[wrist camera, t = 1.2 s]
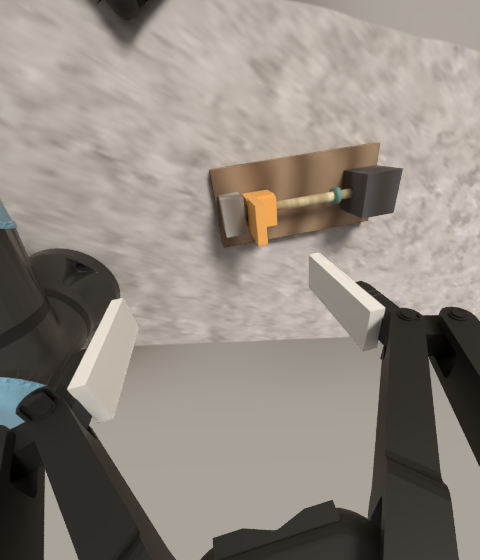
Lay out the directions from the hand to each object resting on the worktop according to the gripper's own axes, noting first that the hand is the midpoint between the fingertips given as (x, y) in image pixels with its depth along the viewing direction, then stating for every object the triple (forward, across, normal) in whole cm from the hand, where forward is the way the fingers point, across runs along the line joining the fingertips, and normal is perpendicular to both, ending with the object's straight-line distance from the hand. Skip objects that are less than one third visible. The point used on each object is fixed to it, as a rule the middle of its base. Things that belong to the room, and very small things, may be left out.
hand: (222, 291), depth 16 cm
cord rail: (+24, +15, -1) cm, 28 cm away
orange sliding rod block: (+22, +8, -1) cm, 24 cm away
